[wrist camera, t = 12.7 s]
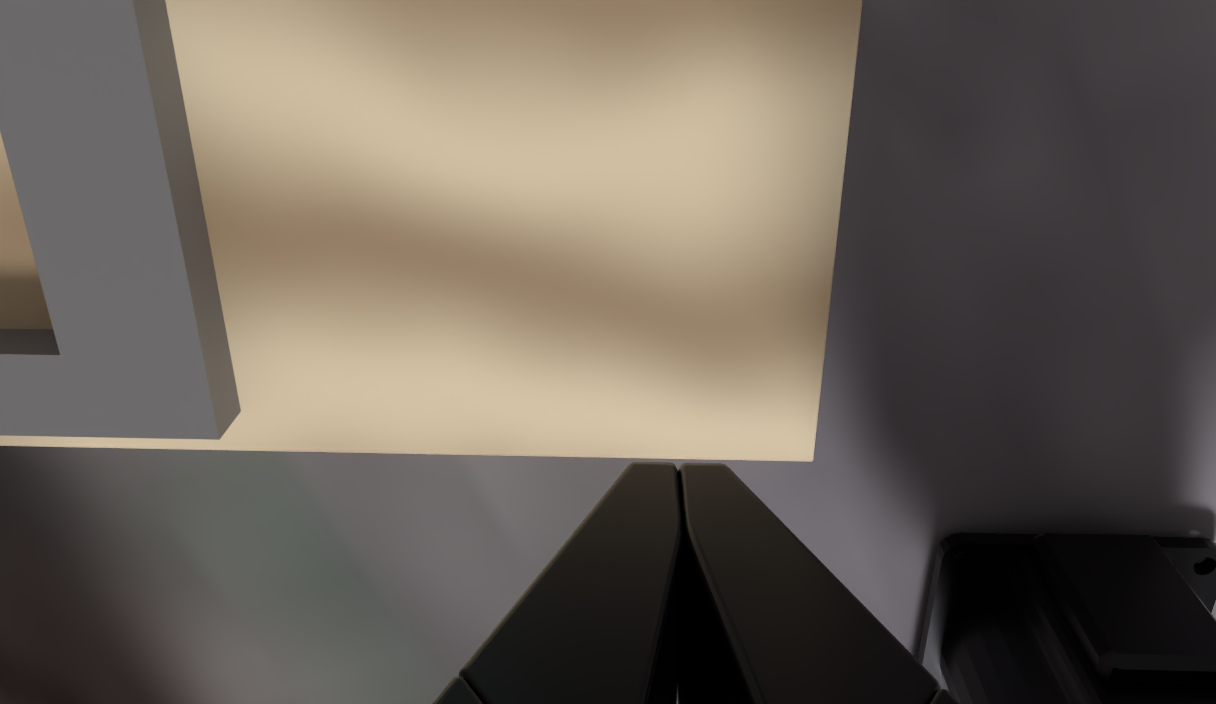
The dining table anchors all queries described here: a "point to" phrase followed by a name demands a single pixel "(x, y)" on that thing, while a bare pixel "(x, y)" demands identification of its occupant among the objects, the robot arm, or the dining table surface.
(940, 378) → the dining table surface
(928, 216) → the dining table surface
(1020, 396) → the dining table surface
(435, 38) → the patch board
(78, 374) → the gray square frame
